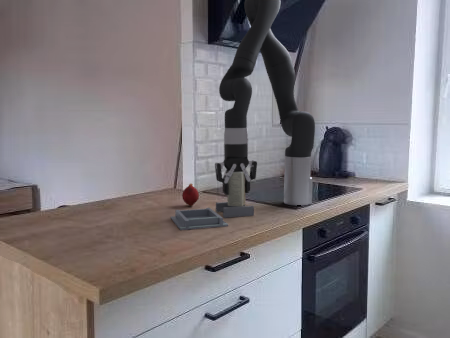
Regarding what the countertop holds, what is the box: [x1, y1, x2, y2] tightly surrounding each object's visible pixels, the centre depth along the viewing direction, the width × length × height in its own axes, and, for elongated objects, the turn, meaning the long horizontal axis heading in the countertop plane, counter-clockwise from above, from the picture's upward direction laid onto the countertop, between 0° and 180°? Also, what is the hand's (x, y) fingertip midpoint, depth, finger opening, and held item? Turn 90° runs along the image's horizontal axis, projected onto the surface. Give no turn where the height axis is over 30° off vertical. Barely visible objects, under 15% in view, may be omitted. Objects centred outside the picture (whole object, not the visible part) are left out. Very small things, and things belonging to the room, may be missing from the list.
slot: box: [215, 201, 255, 219], centre depth 134 cm, size 10×9×3 cm
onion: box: [182, 183, 200, 207], centre depth 144 cm, size 6×6×8 cm
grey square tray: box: [170, 207, 229, 231], centre depth 123 cm, size 14×14×3 cm
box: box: [227, 171, 247, 206], centre depth 133 cm, size 5×4×11 cm
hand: (236, 193), depth 133 cm, fingers closed on box, 6 cm apart
